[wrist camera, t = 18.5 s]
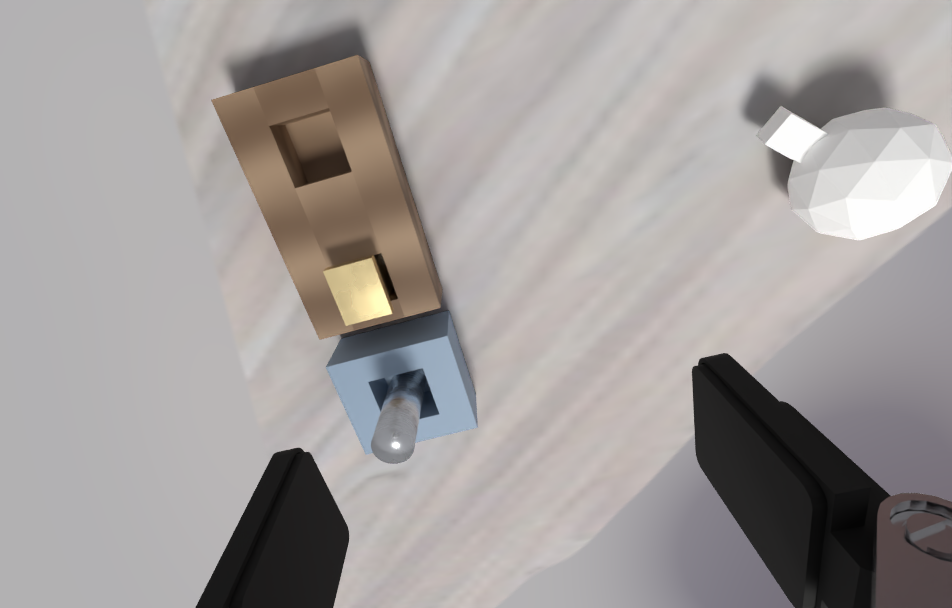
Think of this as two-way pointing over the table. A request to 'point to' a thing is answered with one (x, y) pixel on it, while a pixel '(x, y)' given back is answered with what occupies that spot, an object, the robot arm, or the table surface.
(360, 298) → the key
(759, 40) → the table surface
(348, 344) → the blue square hole block
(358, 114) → the socket block
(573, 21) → the table surface
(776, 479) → the robot arm
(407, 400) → the steel peg
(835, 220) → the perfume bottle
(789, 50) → the table surface
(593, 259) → the table surface
